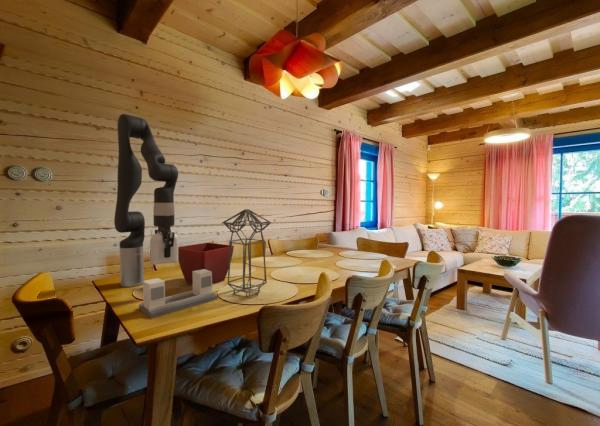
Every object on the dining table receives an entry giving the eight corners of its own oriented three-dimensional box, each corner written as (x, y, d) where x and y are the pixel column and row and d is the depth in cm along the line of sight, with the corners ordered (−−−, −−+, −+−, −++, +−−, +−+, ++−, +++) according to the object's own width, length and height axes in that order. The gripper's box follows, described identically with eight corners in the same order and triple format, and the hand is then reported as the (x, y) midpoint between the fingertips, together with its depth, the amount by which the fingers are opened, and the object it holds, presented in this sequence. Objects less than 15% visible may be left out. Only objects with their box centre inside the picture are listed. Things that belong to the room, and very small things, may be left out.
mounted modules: (143, 306, 98) (142, 280, 98) (204, 290, 115) (204, 269, 115) (150, 311, 94) (149, 284, 94) (212, 294, 111) (212, 271, 110)
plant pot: (235, 279, 136) (235, 245, 135) (203, 290, 120) (202, 251, 119) (208, 274, 146) (207, 242, 145) (175, 283, 130) (174, 247, 129)
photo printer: (177, 260, 118) (177, 231, 117) (179, 262, 114) (179, 232, 113) (149, 263, 112) (149, 232, 111) (150, 265, 108) (150, 234, 108)
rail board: (139, 308, 100) (138, 301, 100) (202, 292, 118) (201, 286, 117) (151, 318, 92) (151, 310, 92) (217, 299, 109) (217, 293, 109)
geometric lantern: (247, 285, 127) (246, 208, 125) (273, 292, 118) (273, 209, 117) (219, 295, 114) (218, 209, 113) (247, 303, 105) (246, 210, 104)
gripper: (147, 213, 114) (147, 254, 115) (161, 215, 104) (161, 260, 105) (166, 212, 119) (166, 252, 120) (181, 214, 110) (181, 257, 111)
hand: (164, 256), depth 113 cm, fingers closed on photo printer, 5 cm apart
